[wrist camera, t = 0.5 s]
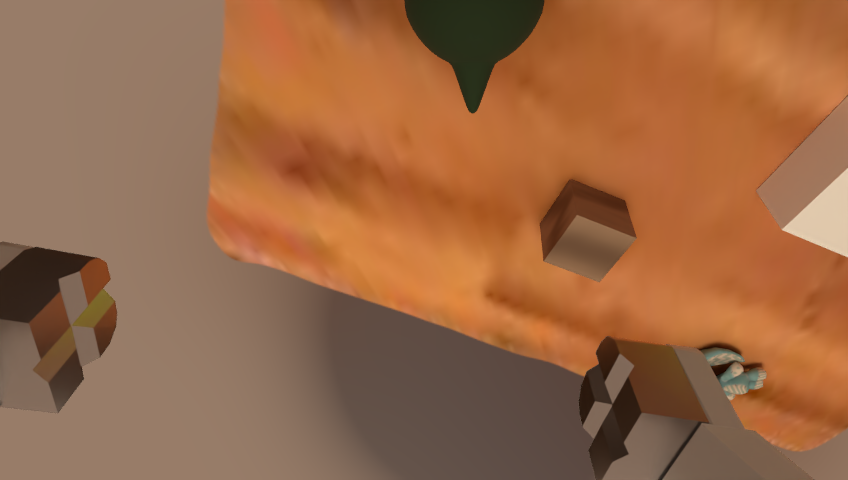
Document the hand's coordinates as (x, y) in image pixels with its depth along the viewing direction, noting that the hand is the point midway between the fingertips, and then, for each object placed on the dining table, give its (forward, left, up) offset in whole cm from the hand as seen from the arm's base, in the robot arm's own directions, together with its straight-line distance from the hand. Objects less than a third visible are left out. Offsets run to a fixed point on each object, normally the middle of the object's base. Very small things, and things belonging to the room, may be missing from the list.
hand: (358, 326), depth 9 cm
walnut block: (+19, +21, -40) cm, 48 cm away
